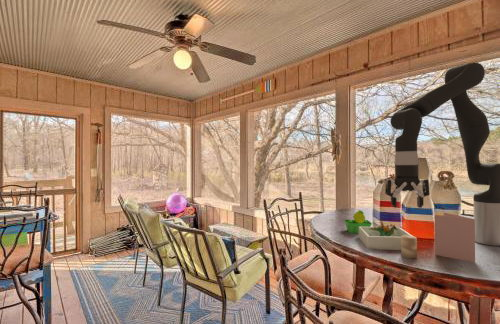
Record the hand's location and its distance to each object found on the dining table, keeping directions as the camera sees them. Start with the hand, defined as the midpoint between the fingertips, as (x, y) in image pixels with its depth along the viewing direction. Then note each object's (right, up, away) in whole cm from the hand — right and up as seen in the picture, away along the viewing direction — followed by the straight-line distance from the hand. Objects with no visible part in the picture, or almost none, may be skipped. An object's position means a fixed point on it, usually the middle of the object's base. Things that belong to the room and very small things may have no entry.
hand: (407, 207), depth 98 cm
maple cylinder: (+1, -18, 0) cm, 18 cm away
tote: (-1, -18, +14) cm, 23 cm away
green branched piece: (-1, -17, +17) cm, 24 cm away
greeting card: (+15, -18, -3) cm, 24 cm away
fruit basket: (-5, -18, +32) cm, 37 cm away
